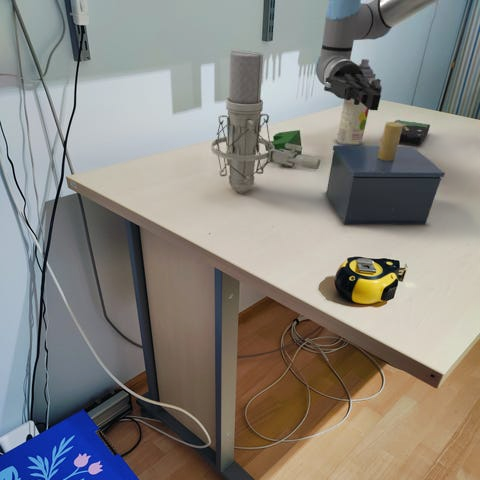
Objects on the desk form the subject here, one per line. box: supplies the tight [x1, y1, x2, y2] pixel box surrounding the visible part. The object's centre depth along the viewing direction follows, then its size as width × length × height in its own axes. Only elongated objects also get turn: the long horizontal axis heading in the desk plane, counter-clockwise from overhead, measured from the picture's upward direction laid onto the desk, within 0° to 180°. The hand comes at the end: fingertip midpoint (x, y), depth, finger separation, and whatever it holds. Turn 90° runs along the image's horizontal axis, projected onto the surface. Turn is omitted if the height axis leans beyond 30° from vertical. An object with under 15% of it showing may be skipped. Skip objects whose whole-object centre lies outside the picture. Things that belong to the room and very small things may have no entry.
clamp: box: [264, 129, 303, 167], centre depth 103 cm, size 12×6×9 cm, turn 153°
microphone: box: [210, 49, 321, 193], centre depth 80 cm, size 12×22×25 cm, turn 61°
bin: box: [325, 151, 442, 226], centre depth 82 cm, size 16×14×9 cm
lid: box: [332, 121, 446, 178], centre depth 77 cm, size 16×14×7 cm
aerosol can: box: [336, 58, 377, 146], centre depth 111 cm, size 7×7×20 cm
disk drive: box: [393, 119, 431, 147], centre depth 123 cm, size 10×3×15 cm
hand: (375, 102), depth 83 cm, fingers closed
